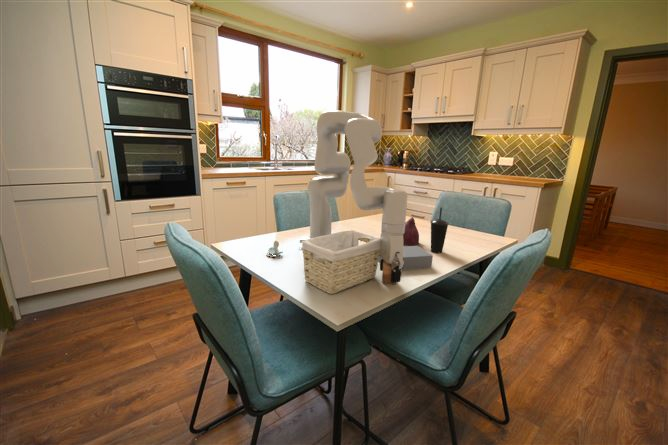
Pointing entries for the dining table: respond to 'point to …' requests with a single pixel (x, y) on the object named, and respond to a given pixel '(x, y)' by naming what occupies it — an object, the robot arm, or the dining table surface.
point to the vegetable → (410, 233)
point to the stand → (415, 258)
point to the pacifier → (274, 250)
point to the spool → (387, 273)
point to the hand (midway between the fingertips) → (389, 276)
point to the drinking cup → (438, 234)
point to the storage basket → (340, 260)
